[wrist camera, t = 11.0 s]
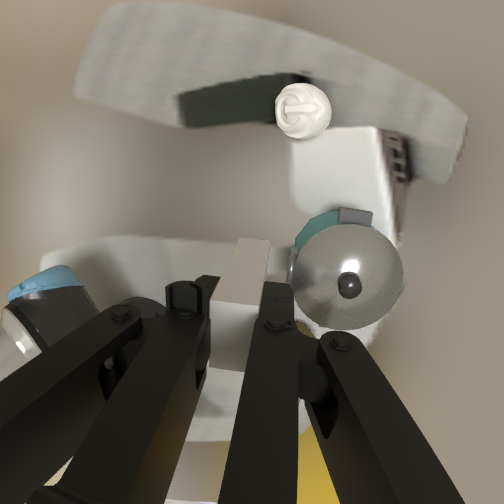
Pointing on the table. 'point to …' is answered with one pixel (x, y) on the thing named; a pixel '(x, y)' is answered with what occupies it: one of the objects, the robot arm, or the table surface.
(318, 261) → the lid
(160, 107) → the table surface
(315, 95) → the white swirled ball
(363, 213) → the pot
